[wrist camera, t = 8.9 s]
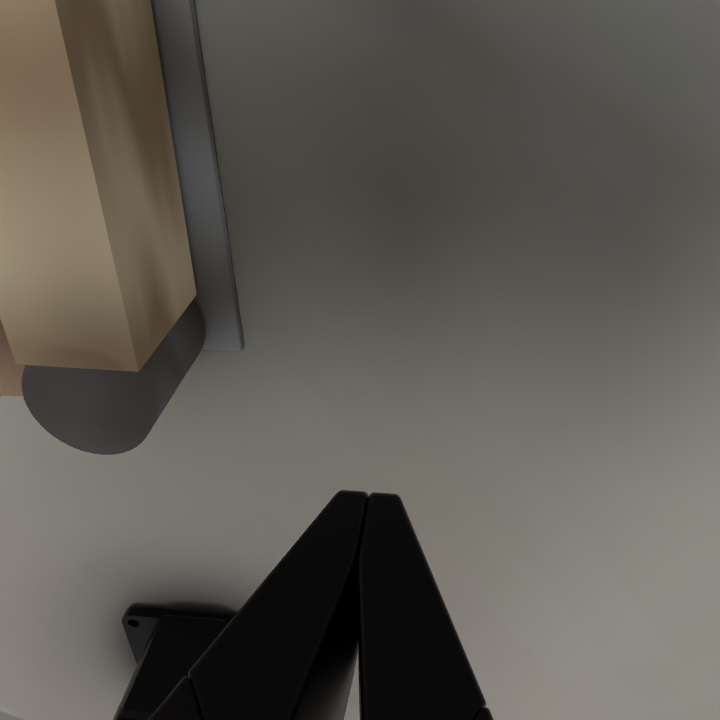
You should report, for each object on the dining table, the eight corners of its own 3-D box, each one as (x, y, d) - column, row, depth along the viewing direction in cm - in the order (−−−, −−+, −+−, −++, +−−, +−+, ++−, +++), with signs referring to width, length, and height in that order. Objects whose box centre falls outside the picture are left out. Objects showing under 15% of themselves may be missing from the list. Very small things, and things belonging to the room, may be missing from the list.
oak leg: (212, 372, 19) (162, 458, 16) (111, 365, 20) (42, 449, 16) (96, -380, 11) (-57, -523, 8) (-75, -369, 12) (-290, -502, 8)
